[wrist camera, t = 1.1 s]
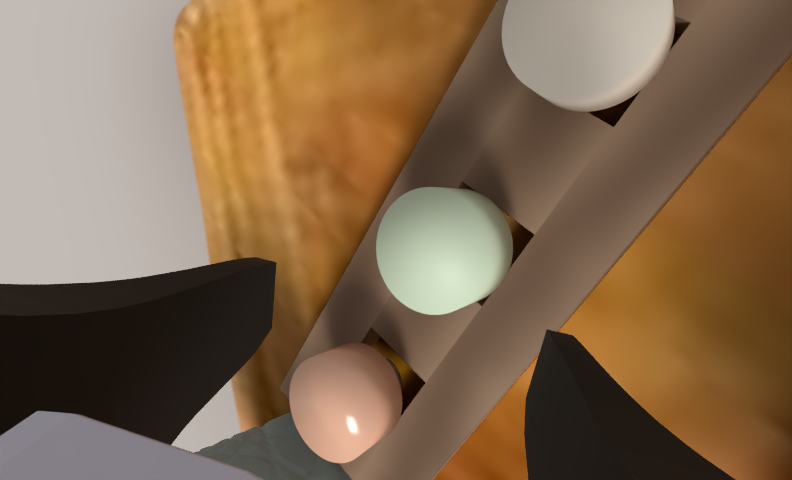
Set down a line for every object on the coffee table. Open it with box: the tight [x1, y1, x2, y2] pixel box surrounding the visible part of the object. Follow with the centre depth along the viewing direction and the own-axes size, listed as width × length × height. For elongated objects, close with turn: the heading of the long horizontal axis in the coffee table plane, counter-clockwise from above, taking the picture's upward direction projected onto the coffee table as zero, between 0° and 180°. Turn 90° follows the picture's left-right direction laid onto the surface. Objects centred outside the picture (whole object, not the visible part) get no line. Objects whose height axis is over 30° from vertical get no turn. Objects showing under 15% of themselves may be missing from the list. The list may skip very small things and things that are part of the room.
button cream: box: [502, 0, 675, 112], centre depth 16 cm, size 5×5×4 cm
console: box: [279, 0, 792, 480], centre depth 21 cm, size 10×30×2 cm, turn 145°
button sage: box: [376, 187, 513, 315], centre depth 19 cm, size 5×5×4 cm
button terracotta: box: [289, 342, 402, 463], centre depth 22 cm, size 5×5×4 cm
